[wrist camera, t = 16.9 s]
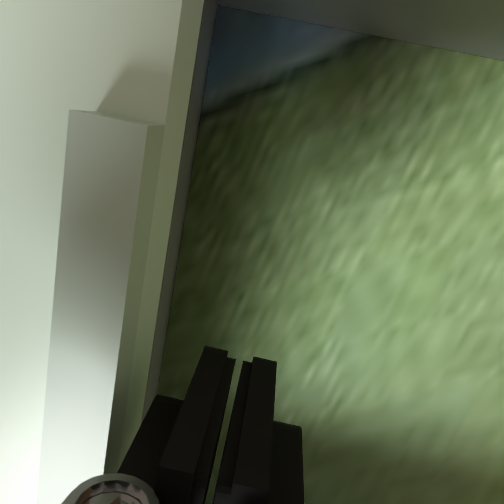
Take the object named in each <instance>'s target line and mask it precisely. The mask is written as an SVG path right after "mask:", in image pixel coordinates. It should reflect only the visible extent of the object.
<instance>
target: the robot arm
mask: <svg viewBox="0 0 504 504" xmlns="http://www.w3.org/2000/svg"><path fill="white" fill-rule="evenodd" d="M227 355H228V351H226V350H222V349H217V348H213V347H208V346H205V347H204V350H203V352H202V355H201V357H200V360H199V363H198V365H197V368H196V370H195V373H194V376H193V378H192V381H191V383H190V386H189V389H188V391H187V394H186V396H185V399H184V400H179V399H175V398H170V397H166V396H161V395H156V396H155V398H154V400H153V402H152V404H151V406H150V408H149V410H148V412H147V414H146V416H145V418H144V420H143V422H142V424H141V426H140V428H139V430H138V432H137V434H136V436H135V438H134V440H133V442H132V444H131V446H130V448H129V450H128V452H127V454H126V456H125V458H124V460H123V462H122V464H121V466H120V468H119V470H118V472H117V473H109V474H103V475H99V476H95V477H92V478H90V479H88V480H86V481H84V482H82V483H80V484H79V485H78V486H77V487H76V488H75V489H74V490H73V491H72V492H71V493H70V494H69V495H68V496H67V497H66V499H65V500H64V501H63V502H62V503H61V504H205V499H206V495H207V491H208V486H209V482H210V477H211V473H212V469H213V464H214V459H215V455H216V450H217V445H218V441H219V436H220V431H221V427H222V422H223V417H224V413H225V408H226V403H227V398H228V394H229V389H230V384H231V380H232V375H233V370H234V366H235V361H236V359H233V358H229V357H227ZM276 367H277V362H276V361H271V360H267V359H262V358H258V357H253V361H252V363H251V362H247V361H243V364H242V369H241V373H240V378H239V382H238V387H237V391H236V396H235V401H234V405H233V410H232V414H231V419H230V424H229V428H228V433H227V437H226V442H225V446H224V451H223V456H222V460H221V465H220V470H219V474H218V479H217V484H216V489H215V494H214V498H213V503H212V504H304V483H303V454H302V430H301V427H300V426H295V425H291V424H286V423H282V422H277V421H273V417H274V401H275V384H276Z"/></svg>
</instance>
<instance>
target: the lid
mask: <svg viewBox="0 0 504 504" xmlns="http://www.w3.org/2000/svg"><path fill="white" fill-rule="evenodd" d="M203 4H204V0H0V504H61V503H62V502H63V501H64V500H65V499H66V497H67V496H68V495H69V494H70V493H71V492H72V491H73V490H74V489H75V488H76V487H77V486H78V485H79V484H80V483H82V482H84V481H86V480H88V479H90V478H92V477H95V476H99V475H103V474H109V473H117V472H118V470H119V468H120V466H121V464H122V462H123V460H124V458H125V456H126V454H127V452H128V450H129V448H130V446H131V444H132V442H133V440H134V438H135V436H136V434H137V432H138V430H139V428H140V426H141V420H142V413H143V406H144V400H145V393H146V386H147V380H148V373H149V366H150V360H151V353H152V346H153V339H154V333H155V326H156V319H157V313H158V306H159V299H160V292H161V286H162V279H163V272H164V266H165V259H166V252H167V246H168V239H169V232H170V225H171V219H172V212H173V205H174V199H175V192H176V185H177V179H178V172H179V165H180V158H181V152H182V145H183V138H184V132H185V125H186V118H187V111H188V105H189V98H190V91H191V85H192V78H193V71H194V65H195V58H196V51H197V44H198V38H199V31H200V24H201V18H202V11H203Z"/></svg>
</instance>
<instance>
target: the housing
mask: <svg viewBox="0 0 504 504" xmlns="http://www.w3.org/2000/svg"><path fill="white" fill-rule="evenodd" d="M218 5H221V6H226V7H231V8H236V9H241V10H246V11H251V12H257V13H262V14H267V15H272V16H277V17H282V18H287V19H292V20H298V21H303V22H308V23H313V24H318V25H323V26H328V27H333V28H339V29H344V30H349V31H354V32H359V33H364V34H369V35H374V36H380V37H385V38H390V39H395V40H400V41H405V42H410V43H415V44H421V45H426V46H431V47H436V48H441V49H446V50H451V51H456V52H461V53H467V54H472V55H477V56H482V57H487V58H492V59H497V60H502V61H504V0H204V4H203V11H202V18H201V24H200V31H199V38H198V44H197V51H196V58H195V65H194V71H193V78H192V85H191V91H190V98H189V105H188V111H187V118H186V125H185V132H184V138H183V145H182V152H181V158H180V165H179V172H178V179H177V185H176V192H175V199H174V205H173V212H172V219H171V225H170V232H169V239H168V246H167V252H166V259H165V266H164V272H163V279H162V286H161V292H160V299H159V306H158V313H157V319H156V326H155V333H154V339H153V346H152V353H151V360H150V366H149V373H148V380H147V386H146V393H145V400H144V406H143V413H142V420H141V424H142V422H143V420H144V418H145V416H146V414H147V412H148V410H149V408H150V406H151V404H152V402H153V400H154V398H155V396H156V395H157V390H158V383H159V377H160V371H161V364H162V358H163V352H164V345H165V339H166V332H167V326H168V320H169V313H170V307H171V301H172V294H173V288H174V281H175V275H176V269H177V262H178V256H179V250H180V243H181V237H182V230H183V224H184V218H185V211H186V205H187V198H188V192H189V186H190V179H191V173H192V167H193V160H194V154H195V147H196V141H197V135H198V128H199V122H200V116H201V109H202V103H203V96H204V90H205V84H206V77H207V71H208V65H209V58H210V52H211V45H212V39H213V33H214V26H215V20H216V13H217V7H218Z"/></svg>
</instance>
